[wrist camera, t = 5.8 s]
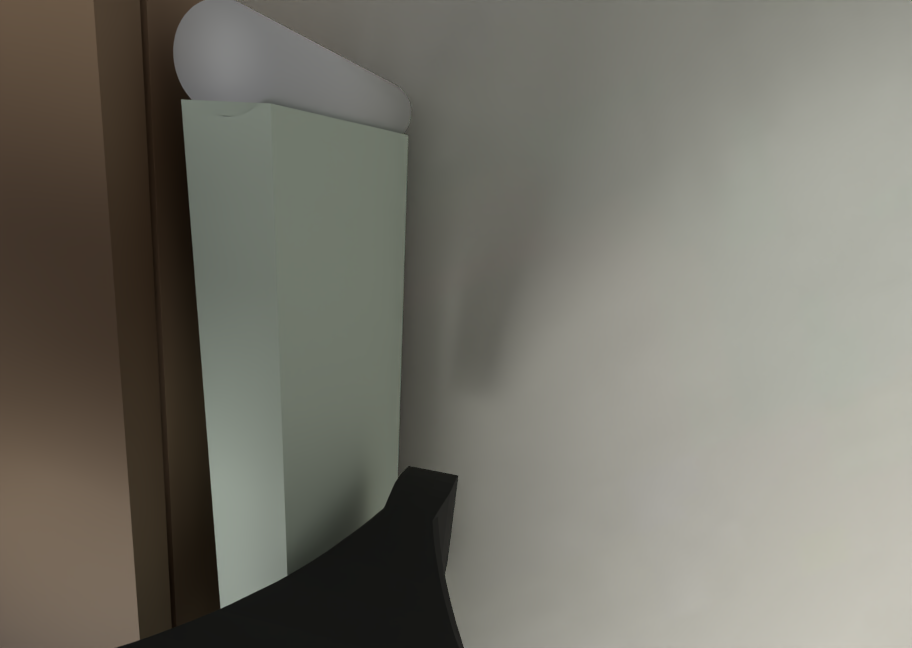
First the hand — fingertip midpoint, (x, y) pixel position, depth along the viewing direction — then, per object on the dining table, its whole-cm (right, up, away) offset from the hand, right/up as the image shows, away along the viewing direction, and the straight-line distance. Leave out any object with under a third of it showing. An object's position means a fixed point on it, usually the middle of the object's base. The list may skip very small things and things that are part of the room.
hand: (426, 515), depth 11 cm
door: (-1, +1, +2) cm, 2 cm away
